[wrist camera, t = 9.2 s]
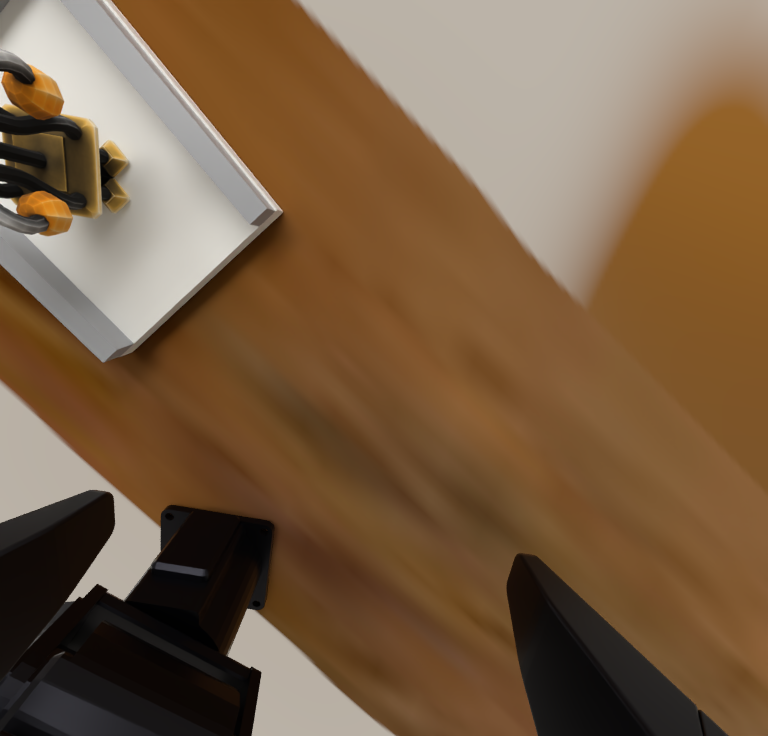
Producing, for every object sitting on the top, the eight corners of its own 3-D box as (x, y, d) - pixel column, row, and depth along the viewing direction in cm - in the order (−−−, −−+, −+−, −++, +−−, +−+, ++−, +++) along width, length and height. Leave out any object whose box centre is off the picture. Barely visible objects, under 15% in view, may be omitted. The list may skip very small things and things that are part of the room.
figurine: (162, 122, 16) (-97, -8, 8) (163, 244, 17) (-56, 235, 9) (54, 104, 16) (-298, -37, 8) (64, 226, 17) (-227, 202, 10)
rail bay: (283, 211, 18) (268, 206, 16) (132, 352, 20) (101, 364, 18) (56, -67, 15) (1, -119, 13) (-91, 131, 17) (-159, 114, 15)
